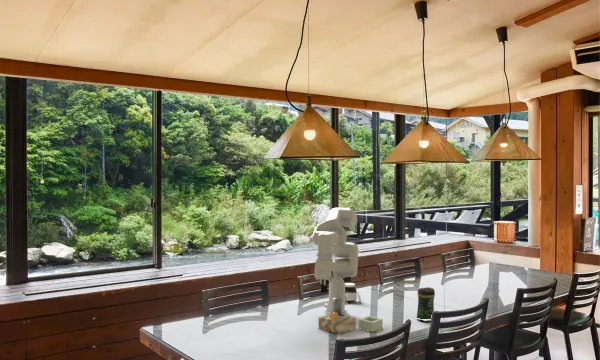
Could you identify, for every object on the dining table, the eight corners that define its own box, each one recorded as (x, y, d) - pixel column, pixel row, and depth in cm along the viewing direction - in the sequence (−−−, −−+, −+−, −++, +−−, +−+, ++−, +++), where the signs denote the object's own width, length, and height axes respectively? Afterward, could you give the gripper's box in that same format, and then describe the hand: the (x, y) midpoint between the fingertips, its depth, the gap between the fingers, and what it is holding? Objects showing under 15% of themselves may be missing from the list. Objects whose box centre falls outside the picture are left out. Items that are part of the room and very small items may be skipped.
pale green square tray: (358, 328, 259) (359, 319, 259) (368, 325, 266) (368, 316, 266) (373, 332, 253) (373, 322, 253) (382, 328, 260) (382, 319, 260)
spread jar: (340, 300, 322) (341, 282, 322) (356, 299, 326) (356, 281, 326) (348, 304, 311) (349, 286, 311) (364, 303, 315) (364, 285, 315)
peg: (331, 328, 259) (331, 298, 259) (336, 326, 262) (336, 296, 262) (337, 330, 256) (338, 299, 256) (342, 328, 259) (343, 298, 259)
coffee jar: (424, 323, 272) (425, 290, 272) (414, 319, 278) (415, 287, 279) (436, 320, 277) (437, 288, 277) (426, 317, 283) (427, 285, 284)
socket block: (318, 328, 258) (318, 316, 258) (334, 322, 269) (334, 312, 269) (339, 334, 249) (339, 322, 249) (355, 328, 259) (355, 317, 259)
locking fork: (319, 319, 253) (319, 309, 253) (336, 314, 263) (336, 305, 263) (334, 323, 246) (334, 313, 246) (351, 317, 257) (351, 308, 257)
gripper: (309, 256, 255) (308, 291, 255) (331, 259, 245) (330, 295, 245) (318, 254, 261) (317, 289, 260) (340, 257, 251) (339, 293, 250)
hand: (324, 292), depth 252 cm, fingers closed
